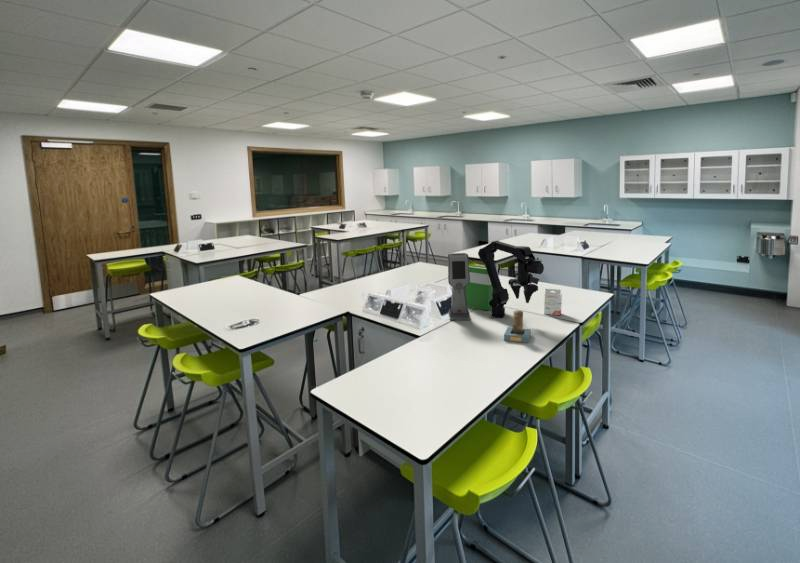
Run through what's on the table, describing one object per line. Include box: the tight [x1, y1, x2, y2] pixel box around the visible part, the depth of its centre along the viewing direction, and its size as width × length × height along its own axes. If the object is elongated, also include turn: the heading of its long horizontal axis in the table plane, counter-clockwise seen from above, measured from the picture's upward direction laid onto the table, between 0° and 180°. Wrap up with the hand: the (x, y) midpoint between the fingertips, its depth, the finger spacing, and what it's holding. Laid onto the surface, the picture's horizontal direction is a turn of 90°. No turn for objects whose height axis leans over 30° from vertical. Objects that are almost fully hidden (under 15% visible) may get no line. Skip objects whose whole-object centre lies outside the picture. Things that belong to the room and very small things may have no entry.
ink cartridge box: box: [543, 288, 563, 316], centre depth 238 cm, size 9×5×15 cm, turn 62°
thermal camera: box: [447, 252, 471, 321], centre depth 237 cm, size 12×13×35 cm
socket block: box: [503, 326, 532, 344], centre depth 206 cm, size 11×11×3 cm
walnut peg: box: [512, 309, 524, 335], centre depth 205 cm, size 4×4×13 cm
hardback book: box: [466, 264, 493, 311], centre depth 255 cm, size 18×7×24 cm, turn 46°
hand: (522, 300), depth 225 cm, fingers open, 9 cm apart
